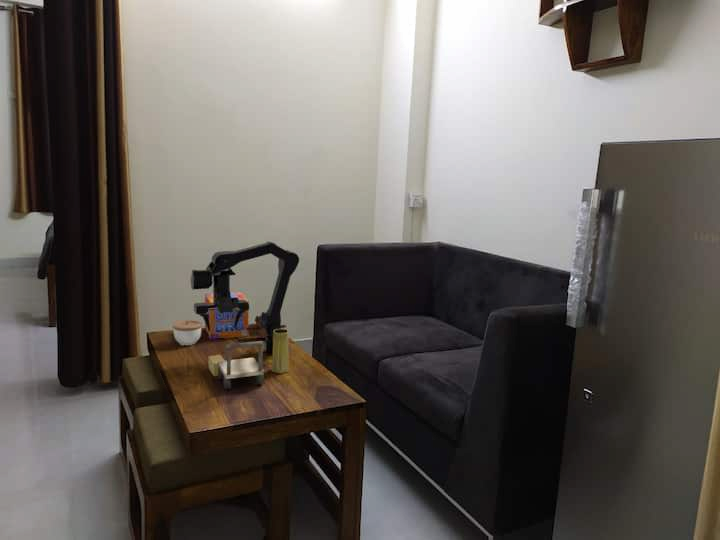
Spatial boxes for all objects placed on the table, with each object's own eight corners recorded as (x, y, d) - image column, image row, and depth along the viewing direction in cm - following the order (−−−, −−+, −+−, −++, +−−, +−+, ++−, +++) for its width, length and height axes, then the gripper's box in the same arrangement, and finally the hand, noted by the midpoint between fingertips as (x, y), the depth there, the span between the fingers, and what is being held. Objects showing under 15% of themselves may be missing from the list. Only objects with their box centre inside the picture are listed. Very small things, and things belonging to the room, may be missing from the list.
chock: (220, 367, 188) (220, 354, 187) (226, 374, 181) (226, 362, 180) (208, 368, 186) (208, 356, 185) (214, 376, 179) (214, 363, 178)
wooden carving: (247, 341, 217) (247, 317, 215) (245, 337, 221) (245, 314, 219) (287, 338, 223) (287, 315, 221) (284, 335, 227) (285, 312, 225)
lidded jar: (181, 338, 217) (180, 315, 215) (206, 340, 215) (206, 317, 214) (168, 346, 206) (167, 322, 205) (194, 348, 205) (194, 325, 203)
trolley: (253, 372, 184) (253, 330, 181) (263, 386, 172) (264, 341, 170) (217, 376, 179) (217, 333, 176) (226, 391, 167) (226, 345, 164)
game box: (204, 329, 230) (204, 293, 227) (241, 326, 236) (241, 292, 233) (210, 340, 216) (209, 302, 213) (248, 336, 222) (248, 300, 219)
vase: (292, 370, 187) (293, 331, 184) (278, 374, 182) (279, 334, 180) (281, 365, 191) (282, 327, 188) (267, 369, 187) (268, 330, 184)
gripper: (198, 294, 180) (199, 339, 182) (253, 290, 188) (253, 333, 191) (192, 287, 189) (193, 330, 192) (245, 284, 198) (245, 325, 201)
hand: (221, 329), depth 194 cm, fingers open, 9 cm apart
